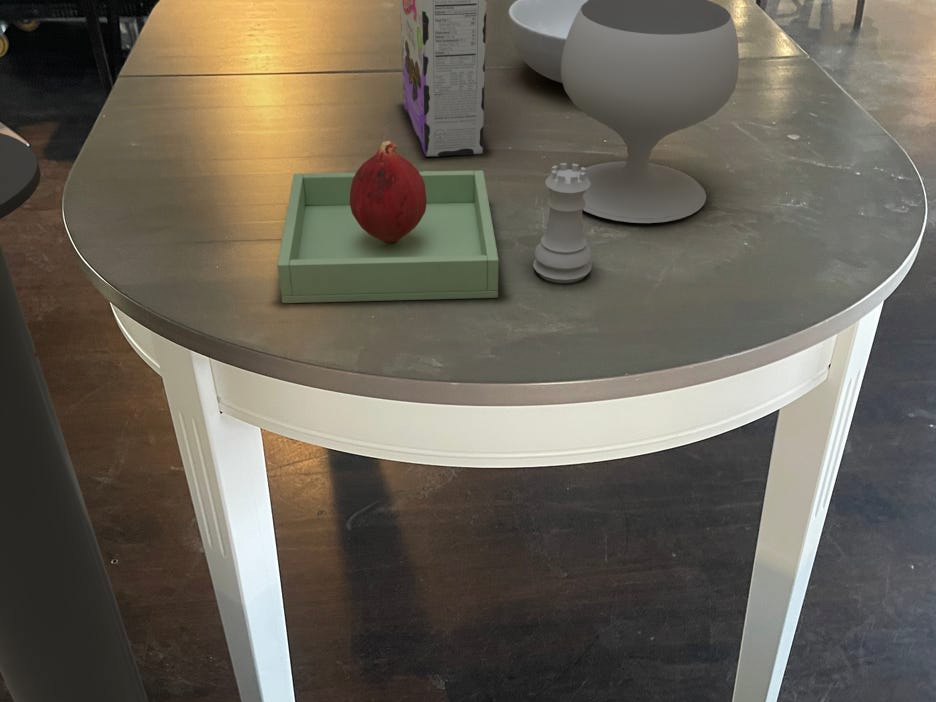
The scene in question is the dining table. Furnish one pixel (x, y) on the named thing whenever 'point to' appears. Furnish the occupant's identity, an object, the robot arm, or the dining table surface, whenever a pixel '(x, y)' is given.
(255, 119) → the dining table surface
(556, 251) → the rook chess piece
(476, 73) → the candy box
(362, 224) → the onion
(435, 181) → the tray
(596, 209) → the chalice
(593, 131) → the dining table surface
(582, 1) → the serving bowl
